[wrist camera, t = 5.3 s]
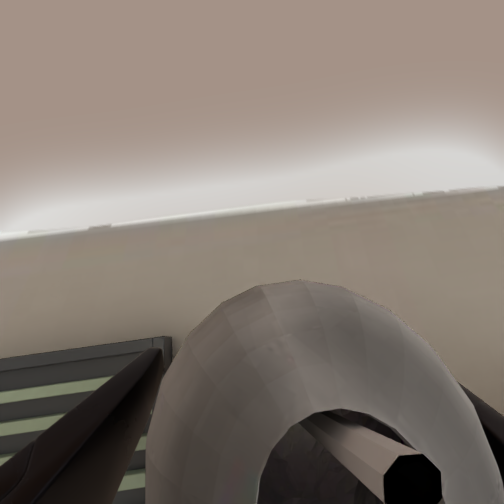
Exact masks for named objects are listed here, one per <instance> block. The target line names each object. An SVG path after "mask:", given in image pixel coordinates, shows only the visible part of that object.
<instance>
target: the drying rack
mask: <svg viewBox="0 0 504 504" xmlns="http://www.w3.org/2000/svg"><path fill="white" fill-rule="evenodd" d="M150 347H156V348H161V349H162V351H163V357H164V363H165V368H164V372H163V376H162V379H163V377H164V375H165V374H166V372H167V370H168V368H169V367H170V365H171V363H172V337H167V336H162V337H155V338H147V339H140V340H133V341H126V342H118V343H111V344H104V345H97V346H90V347H82V348H75V349H68V350H61V351H53V352H46V353H39V354H32V355H24V356H17V357H10V358H3V359H0V466H1V465H2V464H3V463H5V462H6V461H7V460H9V459H10V458H11V457H12V456H14V455H15V454H16V453H17V452H19V451H20V450H21V449H22V448H24V447H25V446H26V445H27V444H29V443H30V442H31V441H33V440H34V441H35V439H36V437H38V436H39V435H40V434H41V433H43V432H44V431H45V430H46V429H48V428H49V427H50V426H51V425H53V424H54V423H55V422H56V421H58V420H59V419H60V418H61V417H63V416H64V415H65V414H66V413H68V412H69V411H70V410H71V409H73V408H74V407H75V406H76V405H78V404H79V403H80V402H81V401H83V400H84V399H85V398H86V397H88V396H89V395H90V394H91V393H93V392H94V391H95V390H96V389H98V388H99V387H100V386H101V385H103V384H104V383H105V382H106V381H108V380H109V379H110V378H111V377H113V376H114V375H115V374H116V373H118V372H119V371H120V370H121V369H123V368H124V367H125V366H126V365H128V364H129V363H130V362H131V361H133V360H134V359H135V358H136V357H138V356H139V355H140V354H141V353H143V352H144V351H145V350H146V349H148V348H150ZM162 379H161V381H162ZM160 385H161V382H160ZM160 385H159V388H158V391H157V394H156V397H155V401H154V404H153V407H152V410H151V413H150V416H149V419H148V421H147V424H146V426H145V429H144V431H143V433H142V435H141V438H140V440H139V442H138V445H137V447H136V449H135V452H134V454H133V456H132V459H131V461H130V463H129V466H128V468H127V470H126V473H125V475H124V477H123V480H122V482H121V484H120V487H119V489H118V491H117V494H116V496H115V498H114V501H113V503H112V504H145V467H146V440H147V434H148V430H149V426H150V422H151V419H152V415H153V411H154V407H155V404H156V400H157V396H158V393H159V389H160Z"/></svg>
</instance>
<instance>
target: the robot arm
mask: <svg viewBox="0 0 504 504" xmlns="http://www.w3.org/2000/svg"><path fill="white" fill-rule="evenodd" d="M164 368H165V363H164V357H163V351H162V349H161V348H156V347H150V348H148V349H146V350H145V351H144V352H143V353H141V354H140V355H139V356H138V357H136V358H135V359H134V360H133V361H131V362H130V363H129V364H128V365H126V366H125V367H124V368H123V369H121V370H120V371H119V372H118V373H116V374H115V375H114V376H113V377H111V378H110V379H109V380H108V381H106V382H105V383H104V384H103V385H101V386H100V387H99V388H98V389H96V390H95V391H94V392H93V393H91V394H90V395H89V396H88V397H86V398H85V399H84V400H83V401H81V402H80V403H79V404H78V405H76V406H75V407H74V408H73V409H71V410H70V411H69V412H68V413H66V414H65V415H64V416H63V417H61V418H60V419H59V420H58V421H56V422H55V423H54V424H53V425H51V426H50V427H49V428H48V429H46V430H45V431H44V432H43V433H41V434H40V435H39V436H38V437H36V439H35V441H34V440H33V441H31V442H30V443H29V444H27V445H26V446H25V447H24V448H22V449H21V450H20V451H19V452H17V453H16V454H15V455H14V456H12V457H11V458H10V459H9V460H7V461H6V462H5V463H3V464H2V465H1V466H0V504H112V503H113V501H114V498H115V496H116V494H117V491H118V489H119V487H120V484H121V482H122V480H123V477H124V475H125V473H126V470H127V468H128V466H129V463H130V461H131V459H132V456H133V454H134V452H135V449H136V447H137V445H138V442H139V440H140V438H141V435H142V433H143V431H144V429H145V426H146V424H147V421H148V419H149V416H150V413H151V410H152V407H153V404H154V401H155V397H156V394H157V391H158V388H159V385H160V382H161V379H162V376H163V372H164ZM458 384H459V385H460V387H461V388H462V390H463V391H464V392H465V394H466V395H467V397H468V398H469V400H470V401H471V402H472V404H473V405H474V408H475V410H476V413H477V415H478V418H479V420H480V423H481V425H482V428H483V430H484V433H485V435H486V438H487V440H488V443H489V445H490V448H491V450H492V453H493V455H494V458H495V460H496V463H497V465H498V468H499V471H500V475H501V479H502V482H503V488H504V416H502V415H501V414H500V413H498V412H497V411H496V410H494V409H493V408H492V407H490V406H489V405H488V404H486V403H485V402H484V401H482V400H481V399H480V398H478V397H477V396H476V395H474V394H473V393H472V392H470V391H469V390H468V389H466V388H465V387H464V386H462V385H461V384H460V383H458Z"/></svg>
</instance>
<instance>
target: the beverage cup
mask: <svg viewBox="0 0 504 504" xmlns="http://www.w3.org/2000/svg"><path fill="white" fill-rule="evenodd" d="M145 504H504V488H503V482H502V479H501V475H500V471H499V468H498V465H497V463H496V460H495V458H494V455H493V453H492V450H491V448H490V445H489V443H488V440H487V438H486V435H485V433H484V430H483V428H482V425H481V423H480V420H479V418H478V415H477V413H476V410H475V408H474V405H473V404H472V402H471V401H470V400H469V398H468V397H467V395H466V394H465V392H464V391H463V390H462V388H461V387H460V385H459V384H458V382H457V381H456V380H455V378H454V377H453V375H452V374H451V373H450V371H449V370H448V368H447V367H446V365H445V364H444V363H443V361H442V360H441V358H440V357H439V356H438V354H437V353H436V352H435V350H434V349H433V348H432V347H431V345H430V344H428V343H427V342H426V341H425V340H424V339H423V338H421V337H420V336H419V335H418V334H417V333H416V332H415V331H413V330H412V329H411V328H410V327H409V326H408V325H406V324H405V323H404V322H403V321H402V320H401V319H399V318H398V317H397V316H396V315H395V314H394V313H393V312H391V311H390V310H388V309H387V308H385V307H383V306H381V305H379V304H377V303H375V302H373V301H370V300H368V299H366V298H364V297H362V296H360V295H358V294H356V293H354V292H352V291H350V290H348V289H346V288H343V287H341V286H335V285H329V284H323V283H317V282H310V281H304V280H294V281H287V282H280V283H274V284H267V285H260V286H255V287H253V288H251V289H249V290H247V291H245V292H243V293H241V294H239V295H237V296H235V297H233V298H231V299H229V300H227V301H225V302H223V303H221V304H220V305H219V306H218V307H217V308H216V309H215V310H214V311H213V312H212V313H211V314H210V315H209V316H207V317H206V318H205V319H204V320H203V321H202V322H201V323H200V324H199V325H198V326H197V327H196V328H195V329H194V330H193V331H192V332H191V333H190V334H189V335H188V336H187V338H186V339H185V341H184V343H183V344H182V346H181V348H180V350H179V351H178V353H177V355H176V356H175V358H174V360H173V362H172V363H171V365H170V367H169V368H168V370H167V372H166V374H165V375H164V377H163V379H162V381H161V385H160V389H159V393H158V396H157V400H156V404H155V407H154V411H153V415H152V419H151V422H150V426H149V430H148V434H147V440H146V467H145Z"/></svg>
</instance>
